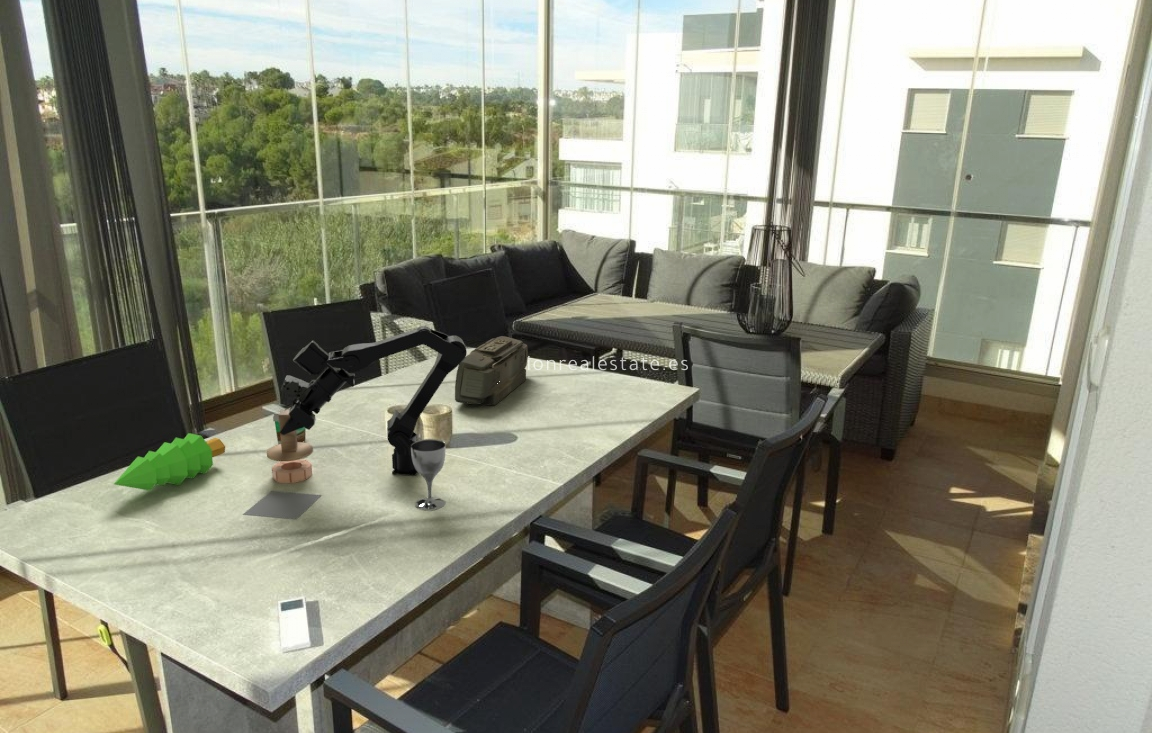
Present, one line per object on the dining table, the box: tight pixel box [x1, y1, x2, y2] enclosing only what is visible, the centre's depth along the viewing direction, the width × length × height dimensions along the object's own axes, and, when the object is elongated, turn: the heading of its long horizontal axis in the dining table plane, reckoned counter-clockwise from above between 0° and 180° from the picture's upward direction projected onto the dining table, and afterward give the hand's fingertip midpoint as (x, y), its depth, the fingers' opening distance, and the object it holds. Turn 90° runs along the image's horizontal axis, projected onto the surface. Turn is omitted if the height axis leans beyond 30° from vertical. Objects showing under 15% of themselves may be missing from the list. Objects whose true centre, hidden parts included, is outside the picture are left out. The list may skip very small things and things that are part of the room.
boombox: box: [454, 335, 529, 406], centre depth 274 cm, size 44×17×20 cm, turn 163°
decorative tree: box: [113, 433, 226, 491], centre depth 195 cm, size 11×12×30 cm
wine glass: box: [411, 438, 447, 511], centre depth 187 cm, size 8×8×15 cm
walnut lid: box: [266, 409, 314, 462], centre depth 198 cm, size 11×11×11 cm
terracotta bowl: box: [271, 459, 313, 484], centre depth 202 cm, size 9×9×3 cm
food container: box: [272, 405, 307, 445], centre depth 225 cm, size 12×6×10 cm, turn 168°
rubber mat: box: [242, 490, 323, 520], centre depth 186 cm, size 13×13×1 cm
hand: (282, 431), depth 198 cm, fingers closed on walnut lid, 3 cm apart
